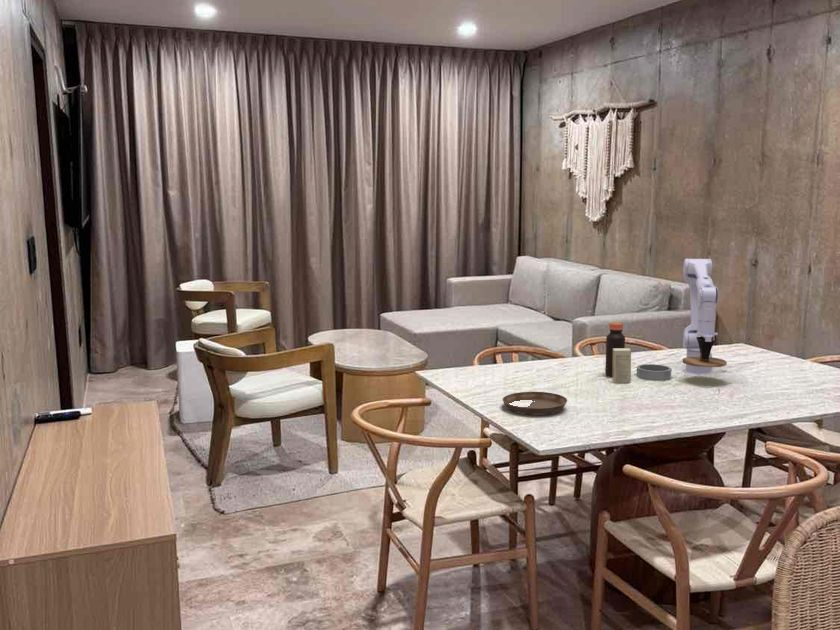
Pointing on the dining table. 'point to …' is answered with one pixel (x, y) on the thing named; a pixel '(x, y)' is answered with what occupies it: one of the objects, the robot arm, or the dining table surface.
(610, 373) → the bottle
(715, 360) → the lid
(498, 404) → the dining table surface
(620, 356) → the skincare box
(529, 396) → the plant saucer
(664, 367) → the bowl
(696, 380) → the mat
